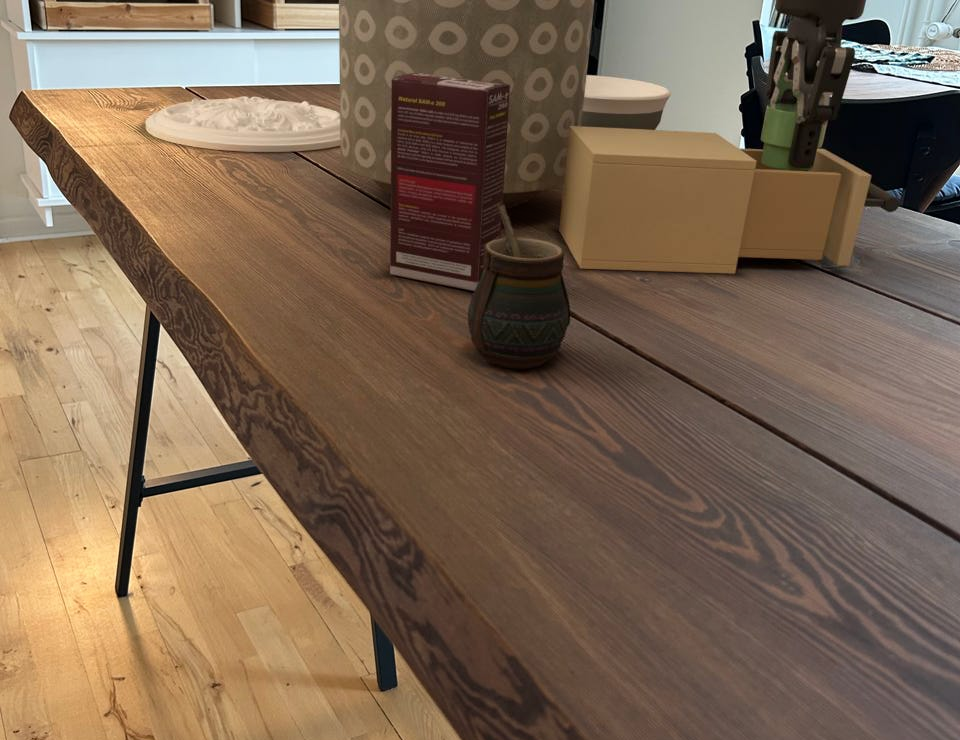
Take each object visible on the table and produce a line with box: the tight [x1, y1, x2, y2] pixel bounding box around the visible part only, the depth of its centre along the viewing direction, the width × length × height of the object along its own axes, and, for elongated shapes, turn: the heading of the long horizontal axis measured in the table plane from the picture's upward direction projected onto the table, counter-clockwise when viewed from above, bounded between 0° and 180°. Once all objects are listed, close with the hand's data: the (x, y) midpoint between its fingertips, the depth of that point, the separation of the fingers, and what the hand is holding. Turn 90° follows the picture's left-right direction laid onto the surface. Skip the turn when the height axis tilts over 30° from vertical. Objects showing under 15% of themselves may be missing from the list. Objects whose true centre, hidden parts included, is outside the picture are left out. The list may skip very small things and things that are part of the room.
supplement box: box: [389, 73, 510, 292], centre depth 85 cm, size 9×5×16 cm, turn 65°
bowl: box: [581, 74, 672, 130], centre depth 139 cm, size 19×19×8 cm
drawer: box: [737, 147, 900, 267], centre depth 99 cm, size 18×11×8 cm, turn 95°
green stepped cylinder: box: [760, 103, 829, 171], centre depth 95 cm, size 6×6×5 cm
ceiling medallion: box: [145, 95, 340, 153], centre depth 138 cm, size 28×28×3 cm
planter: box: [338, 0, 595, 210], centre depth 105 cm, size 25×25×24 cm
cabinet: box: [558, 126, 757, 275], centre depth 97 cm, size 15×13×10 cm
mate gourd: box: [467, 204, 571, 370], centre depth 72 cm, size 7×8×10 cm
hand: (788, 158), depth 96 cm, fingers closed on green stepped cylinder, 5 cm apart
